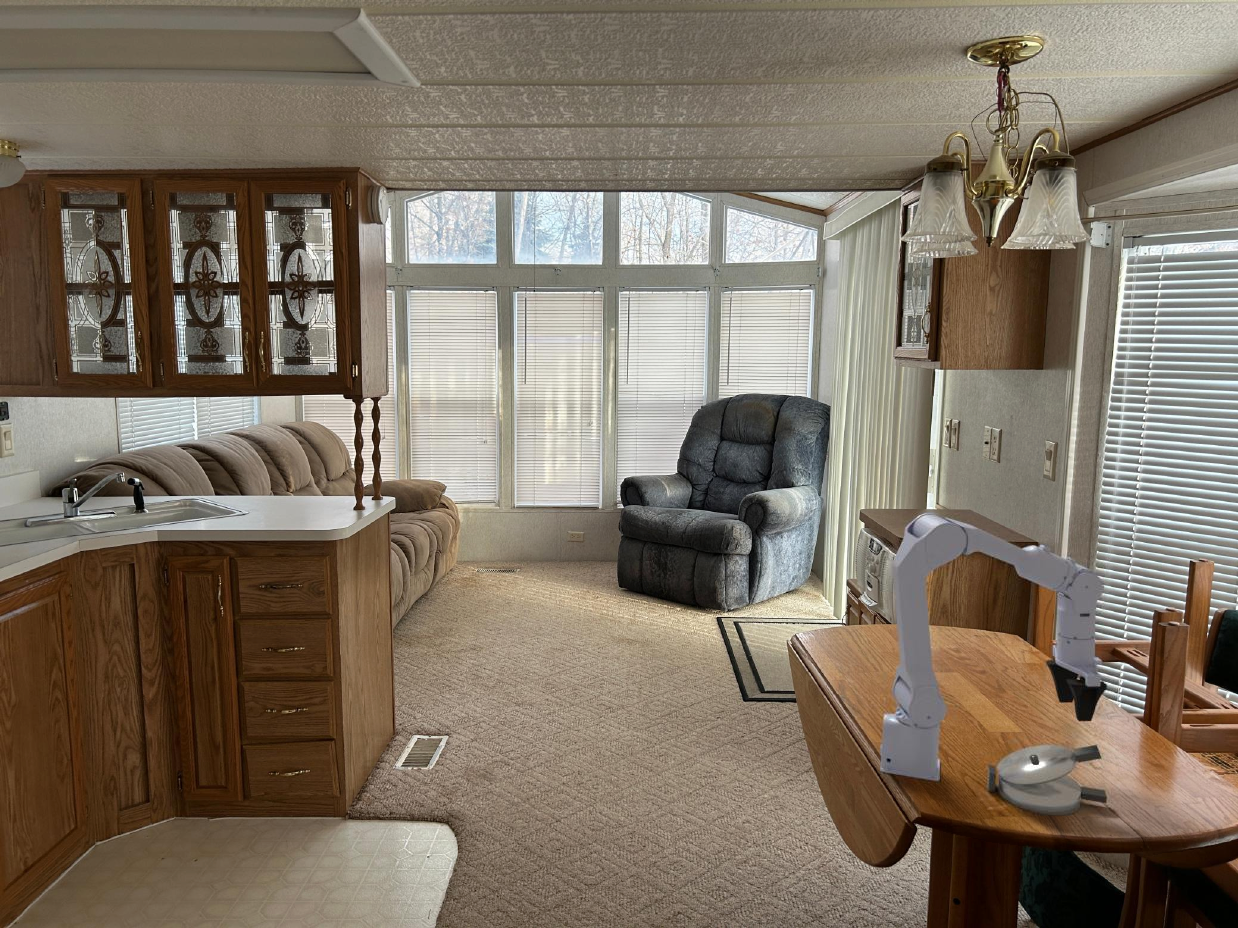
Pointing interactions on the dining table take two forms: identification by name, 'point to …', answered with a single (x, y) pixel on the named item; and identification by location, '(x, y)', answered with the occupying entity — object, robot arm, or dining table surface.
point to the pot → (1046, 794)
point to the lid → (1043, 763)
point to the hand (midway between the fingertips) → (1074, 710)
